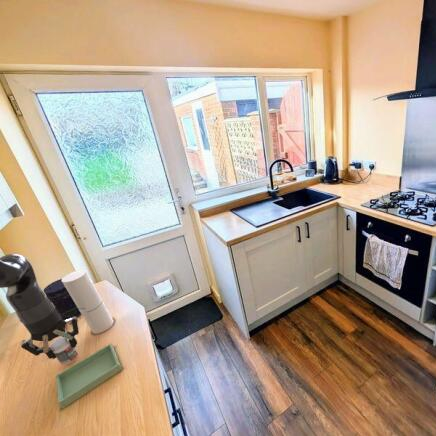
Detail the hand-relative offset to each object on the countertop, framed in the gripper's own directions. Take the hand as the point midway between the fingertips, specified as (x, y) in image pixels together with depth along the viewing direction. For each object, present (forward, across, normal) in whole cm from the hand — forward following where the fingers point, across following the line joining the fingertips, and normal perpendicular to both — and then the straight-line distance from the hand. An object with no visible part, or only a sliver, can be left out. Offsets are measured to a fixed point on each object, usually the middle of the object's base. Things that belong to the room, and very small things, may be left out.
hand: (64, 351), depth 83 cm
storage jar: (+5, -4, -31) cm, 31 cm away
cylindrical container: (+5, -11, -10) cm, 16 cm away
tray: (+5, -4, +12) cm, 14 cm away
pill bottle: (+4, 0, 0) cm, 4 cm away
